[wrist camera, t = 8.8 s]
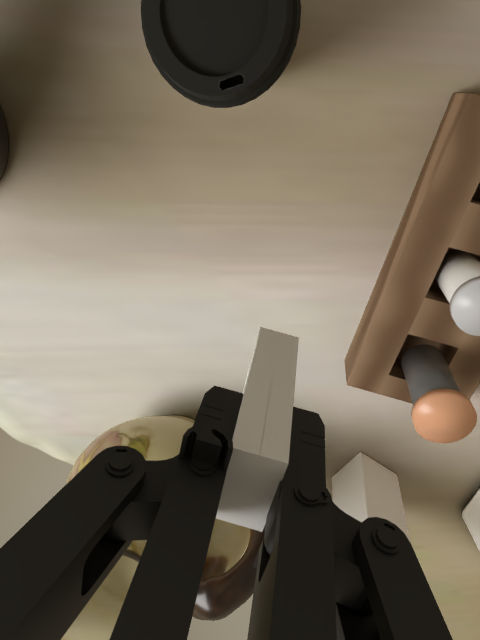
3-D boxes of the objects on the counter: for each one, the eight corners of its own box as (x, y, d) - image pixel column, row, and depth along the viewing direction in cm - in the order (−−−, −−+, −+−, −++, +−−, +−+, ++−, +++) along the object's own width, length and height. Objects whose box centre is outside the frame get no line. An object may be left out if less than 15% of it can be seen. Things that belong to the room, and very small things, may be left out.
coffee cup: (291, -50, 36) (274, -136, 22) (318, 84, 39) (316, 78, 26) (179, -3, 38) (104, -55, 25) (214, 118, 42) (165, 129, 29)
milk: (360, 450, 57) (381, 634, 37) (398, 474, 58) (437, 667, 38) (330, 477, 60) (335, 661, 40) (366, 499, 60) (389, 691, 41)
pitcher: (91, 474, 67) (-20, 662, 45) (123, 349, 56) (-2, 516, 34) (231, 526, 67) (190, 737, 45) (290, 412, 56) (275, 617, 34)
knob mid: (420, 284, 44) (442, 326, 36) (441, 238, 42) (469, 273, 34) (468, 298, 44) (501, 343, 36) (492, 252, 41) (532, 289, 33)
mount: (344, 359, 51) (346, 384, 47) (453, 93, 38) (470, 92, 34) (447, 388, 51) (459, 416, 46) (593, 128, 38) (629, 133, 33)
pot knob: (389, 374, 45) (404, 433, 38) (408, 335, 43) (428, 388, 35) (436, 387, 45) (460, 449, 37) (457, 348, 43) (488, 405, 35)
